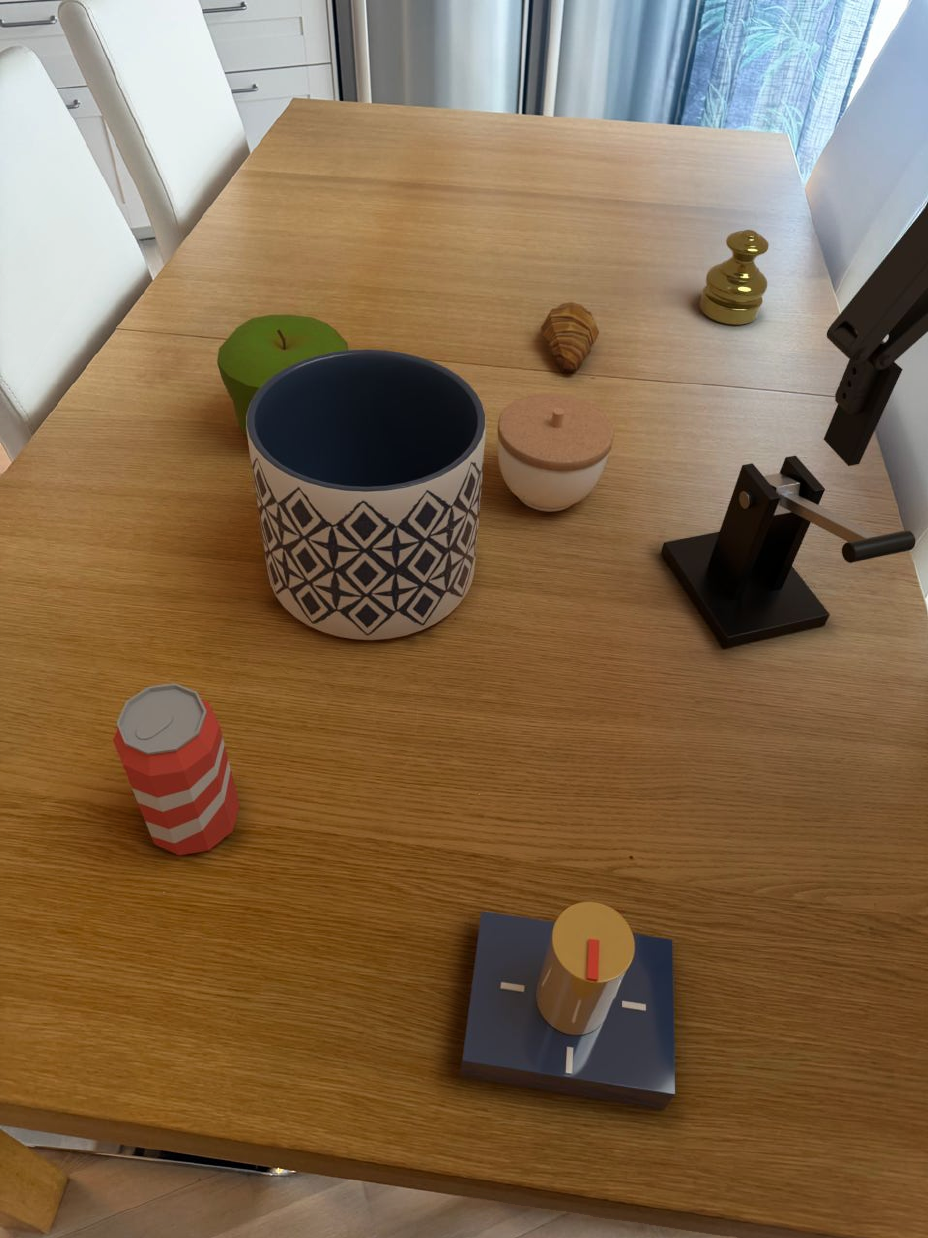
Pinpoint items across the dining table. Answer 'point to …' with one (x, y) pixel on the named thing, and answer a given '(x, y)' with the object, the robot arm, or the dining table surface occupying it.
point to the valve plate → (555, 1061)
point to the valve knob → (584, 967)
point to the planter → (368, 490)
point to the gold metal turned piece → (736, 281)
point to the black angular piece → (751, 563)
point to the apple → (270, 353)
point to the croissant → (570, 335)
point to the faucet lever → (838, 524)
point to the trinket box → (553, 449)
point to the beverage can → (177, 768)
